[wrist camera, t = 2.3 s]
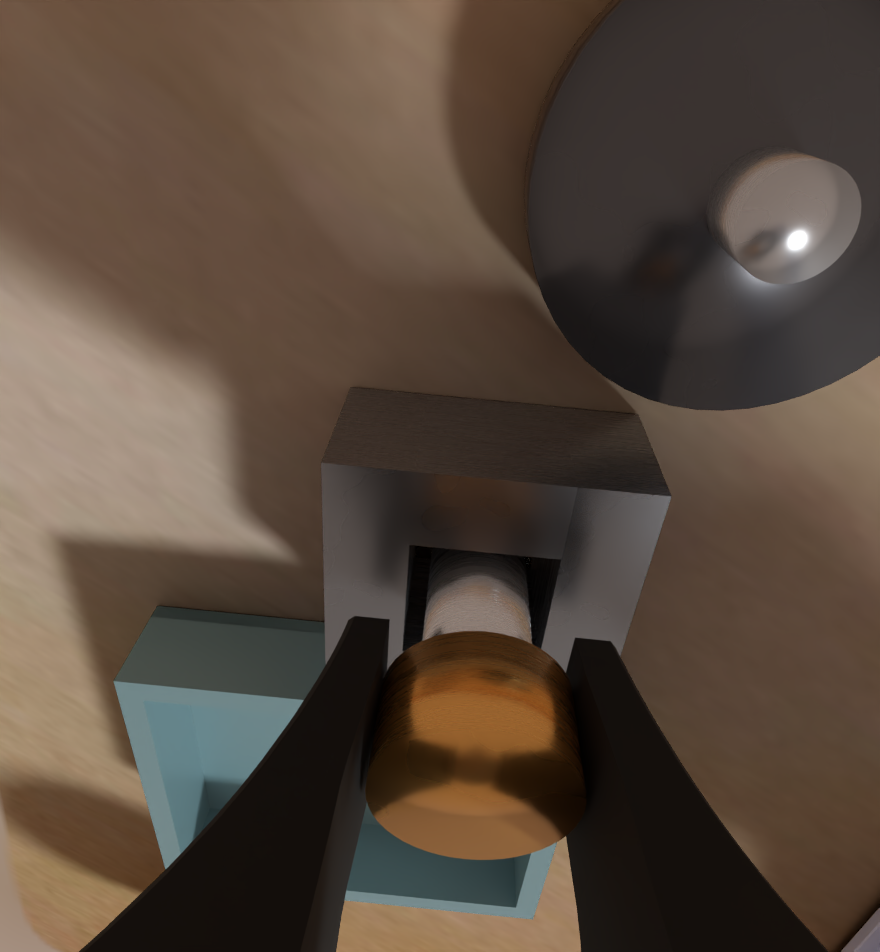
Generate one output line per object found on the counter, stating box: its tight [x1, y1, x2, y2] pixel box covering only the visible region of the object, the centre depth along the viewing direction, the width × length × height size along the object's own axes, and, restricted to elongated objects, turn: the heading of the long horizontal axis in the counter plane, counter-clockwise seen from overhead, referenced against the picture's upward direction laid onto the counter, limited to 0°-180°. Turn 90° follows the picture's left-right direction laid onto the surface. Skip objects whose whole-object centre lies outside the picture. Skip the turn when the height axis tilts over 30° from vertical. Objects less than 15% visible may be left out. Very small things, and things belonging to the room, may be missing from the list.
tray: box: [114, 606, 557, 919], centre depth 19 cm, size 9×11×2 cm
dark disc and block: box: [321, 0, 880, 673], centre depth 12 cm, size 14×10×3 cm
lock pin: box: [365, 547, 586, 860], centre depth 13 cm, size 3×3×7 cm
